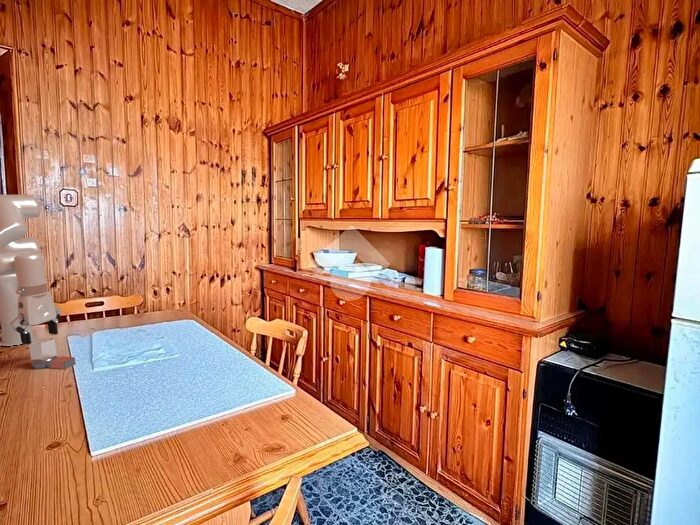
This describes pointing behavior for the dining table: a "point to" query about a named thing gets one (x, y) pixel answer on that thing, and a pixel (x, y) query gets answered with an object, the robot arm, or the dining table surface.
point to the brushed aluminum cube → (42, 349)
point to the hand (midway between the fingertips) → (40, 338)
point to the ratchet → (54, 363)
